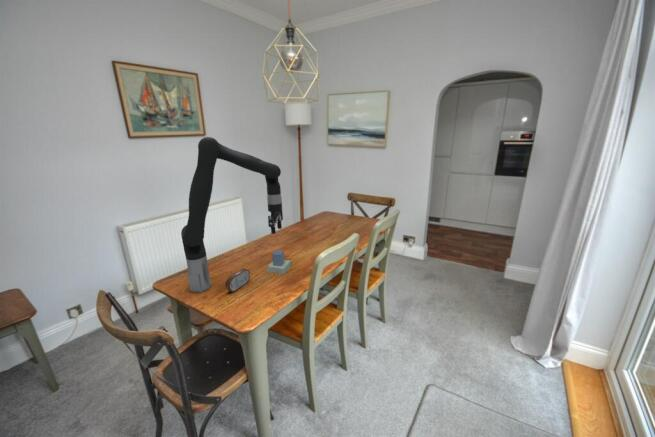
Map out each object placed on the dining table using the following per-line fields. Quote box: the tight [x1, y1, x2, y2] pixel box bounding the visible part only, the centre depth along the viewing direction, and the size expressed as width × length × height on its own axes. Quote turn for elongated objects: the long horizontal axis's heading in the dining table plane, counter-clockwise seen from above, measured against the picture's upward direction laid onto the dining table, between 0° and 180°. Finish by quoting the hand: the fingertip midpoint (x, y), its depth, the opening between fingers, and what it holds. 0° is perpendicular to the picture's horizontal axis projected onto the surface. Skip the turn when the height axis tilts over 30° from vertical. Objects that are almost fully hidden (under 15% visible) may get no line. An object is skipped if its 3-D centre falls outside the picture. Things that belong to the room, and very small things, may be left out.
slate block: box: [271, 249, 286, 266], centre depth 159 cm, size 5×5×7 cm
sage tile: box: [266, 259, 292, 275], centre depth 161 cm, size 10×10×4 cm
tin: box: [224, 268, 251, 292], centre depth 142 cm, size 15×3×8 cm, turn 153°
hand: (276, 230), depth 154 cm, fingers open, 8 cm apart
